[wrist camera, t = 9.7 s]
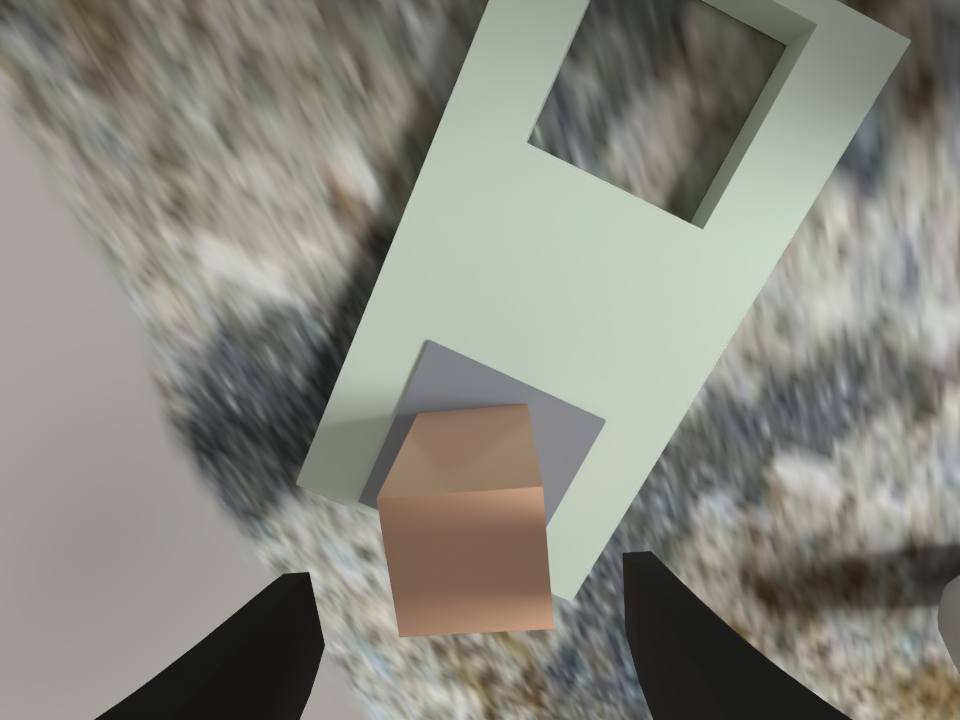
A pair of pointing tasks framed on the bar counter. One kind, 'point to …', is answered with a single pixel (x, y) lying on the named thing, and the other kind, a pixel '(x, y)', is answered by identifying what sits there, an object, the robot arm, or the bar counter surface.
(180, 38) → the bar counter surface
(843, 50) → the pocket board
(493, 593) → the terracotta block
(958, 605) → the donut
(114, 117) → the bar counter surface
